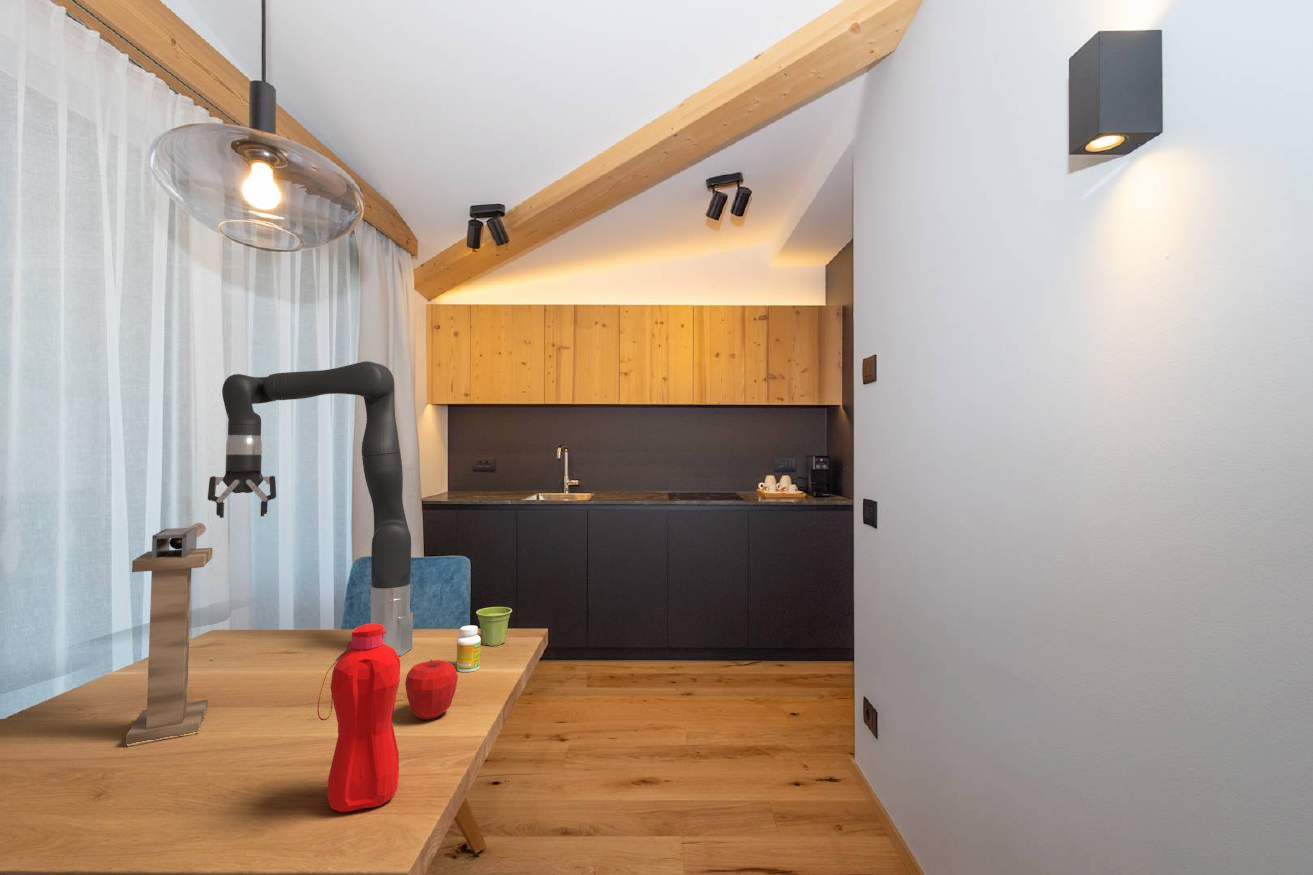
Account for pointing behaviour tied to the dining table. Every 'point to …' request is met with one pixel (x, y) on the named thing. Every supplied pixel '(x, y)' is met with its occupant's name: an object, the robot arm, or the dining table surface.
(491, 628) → the plant pot
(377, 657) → the water bottle
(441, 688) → the apple
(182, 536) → the grey hollow box
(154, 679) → the wooden pedestal stand
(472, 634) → the supplement bottle
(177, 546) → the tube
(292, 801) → the dining table surface
